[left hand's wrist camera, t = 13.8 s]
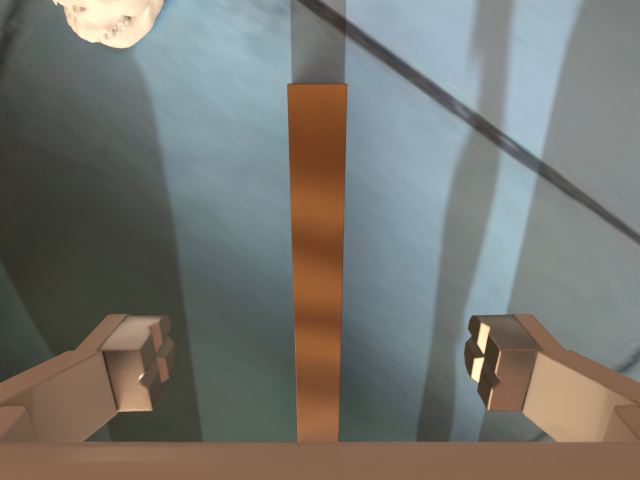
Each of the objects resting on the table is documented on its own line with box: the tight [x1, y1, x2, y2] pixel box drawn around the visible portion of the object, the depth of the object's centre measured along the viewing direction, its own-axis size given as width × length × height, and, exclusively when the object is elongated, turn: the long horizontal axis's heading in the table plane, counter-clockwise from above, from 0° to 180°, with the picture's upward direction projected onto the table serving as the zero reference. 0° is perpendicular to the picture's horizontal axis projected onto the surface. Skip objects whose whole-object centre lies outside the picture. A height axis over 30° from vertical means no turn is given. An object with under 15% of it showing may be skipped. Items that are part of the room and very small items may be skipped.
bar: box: [287, 84, 347, 442], centre depth 45 cm, size 73×4×6 cm, turn 0°
